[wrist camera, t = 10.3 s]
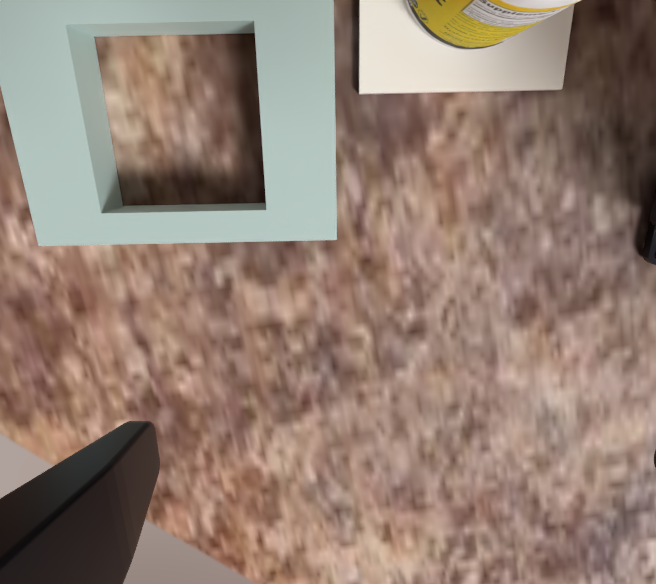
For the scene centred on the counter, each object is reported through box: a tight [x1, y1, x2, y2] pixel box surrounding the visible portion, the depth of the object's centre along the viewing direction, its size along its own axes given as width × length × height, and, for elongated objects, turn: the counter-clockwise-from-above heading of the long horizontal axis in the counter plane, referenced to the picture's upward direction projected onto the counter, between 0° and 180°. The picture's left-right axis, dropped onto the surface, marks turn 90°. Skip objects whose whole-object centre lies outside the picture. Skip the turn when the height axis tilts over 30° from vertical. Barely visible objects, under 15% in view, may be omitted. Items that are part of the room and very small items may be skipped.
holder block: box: [0, 0, 337, 246], centre depth 17 cm, size 12×9×2 cm
